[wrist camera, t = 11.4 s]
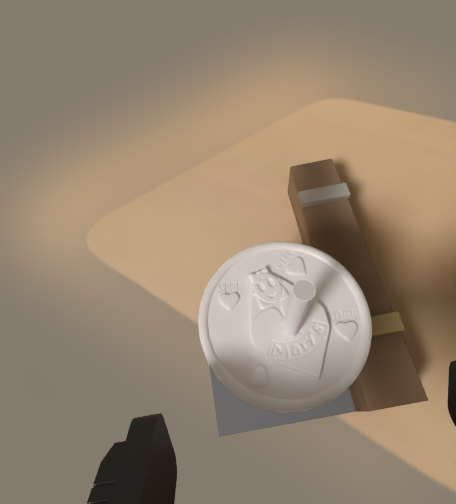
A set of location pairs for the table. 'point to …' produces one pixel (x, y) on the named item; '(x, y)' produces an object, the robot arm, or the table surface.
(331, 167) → the guide rail
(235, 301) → the smoothie
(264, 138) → the table surface
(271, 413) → the end pad
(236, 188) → the table surface
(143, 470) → the robot arm
